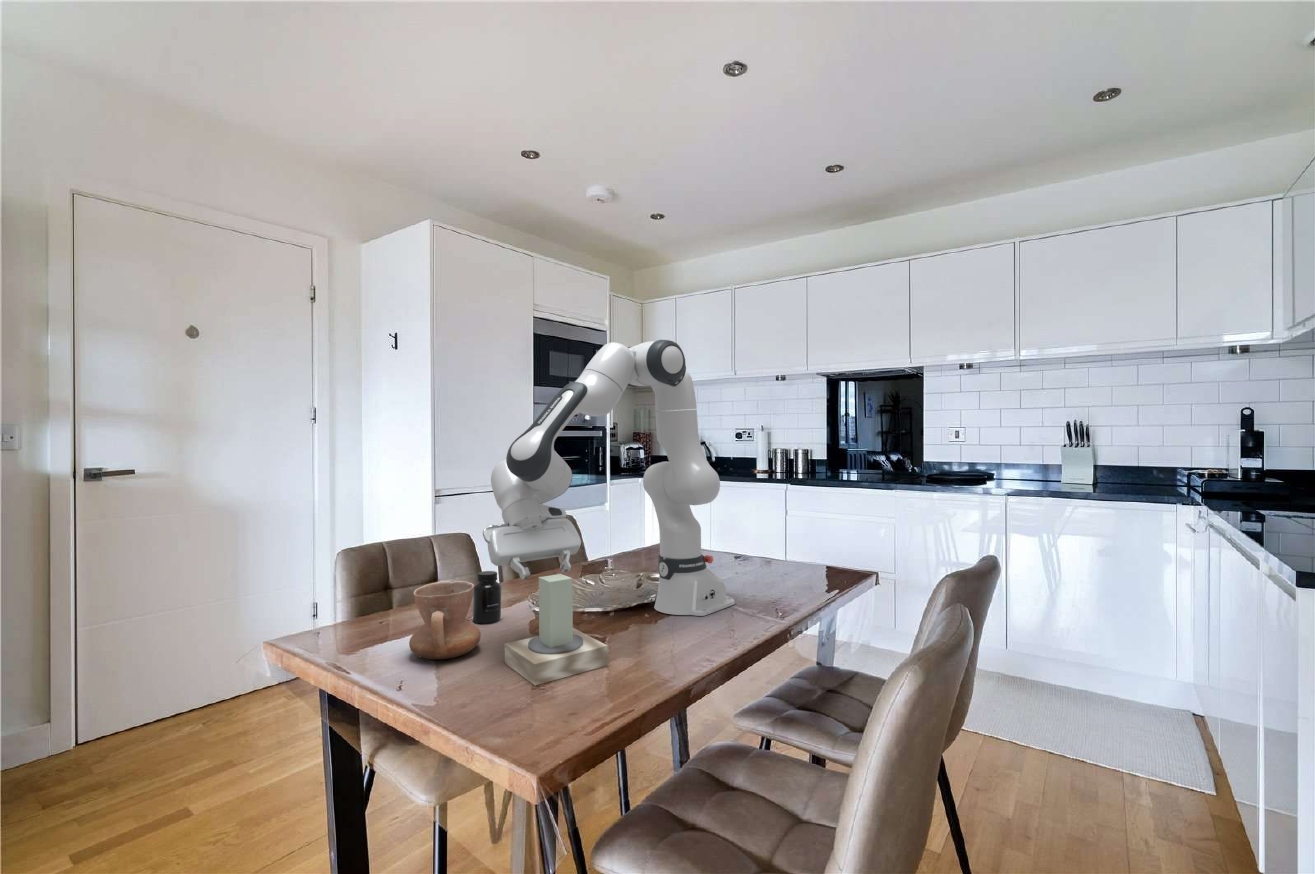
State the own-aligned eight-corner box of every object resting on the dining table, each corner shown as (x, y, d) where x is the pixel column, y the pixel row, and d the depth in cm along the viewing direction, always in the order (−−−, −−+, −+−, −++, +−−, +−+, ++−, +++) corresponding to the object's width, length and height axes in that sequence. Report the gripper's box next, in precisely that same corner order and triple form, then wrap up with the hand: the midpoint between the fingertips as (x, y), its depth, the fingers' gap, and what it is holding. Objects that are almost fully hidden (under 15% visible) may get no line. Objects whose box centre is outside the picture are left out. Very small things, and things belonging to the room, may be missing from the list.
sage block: (561, 635, 127) (560, 573, 127) (572, 642, 123) (572, 578, 123) (539, 640, 124) (538, 577, 124) (550, 647, 120) (549, 581, 120)
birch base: (573, 646, 134) (573, 625, 134) (607, 665, 123) (607, 642, 123) (504, 662, 125) (504, 640, 125) (534, 685, 113) (534, 660, 113)
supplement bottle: (493, 625, 149) (493, 576, 149) (467, 623, 151) (467, 575, 151) (505, 616, 156) (505, 570, 156) (481, 615, 157) (480, 569, 157)
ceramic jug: (421, 640, 139) (420, 578, 138) (487, 637, 140) (485, 575, 140) (396, 673, 121) (394, 602, 120) (471, 668, 122) (470, 598, 122)
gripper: (484, 517, 127) (503, 572, 119) (571, 508, 139) (593, 558, 131) (476, 535, 130) (495, 590, 122) (561, 525, 142) (583, 575, 135)
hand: (547, 573), depth 127 cm, fingers open, 8 cm apart
